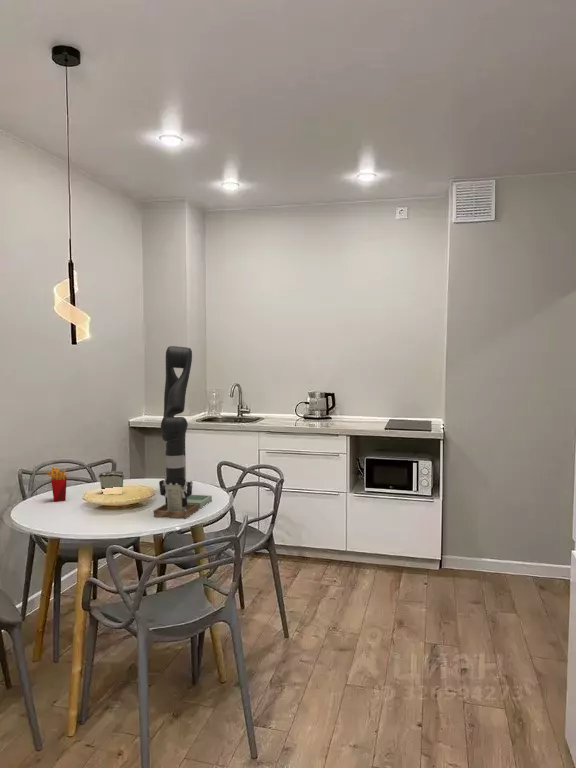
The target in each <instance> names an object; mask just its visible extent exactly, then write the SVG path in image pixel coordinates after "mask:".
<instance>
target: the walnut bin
mask: <svg viewBox="0 0 576 768" xmlns="http://www.w3.org/2000/svg"><path fill="white" fill-rule="evenodd" d="M185 507H186V512H176V511H168V506H167V505H166V504H165V503H164V504H163V505H161V506H159V507H157V508H156V509H154V510H153V517H154V518H163V517H169V518H168V519H180V518H184V520H186V518H187V519H188V518H189V517H191V516H192V515H194V514H195V513H196V511H197V512H198V511H200V509H199V504H187V505H186V506H185ZM193 513H194V514H193ZM190 515H191V516H190Z"/></svg>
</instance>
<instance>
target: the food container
mask: <svg viewBox="0 0 576 768" xmlns="http://www.w3.org/2000/svg"><path fill="white" fill-rule="evenodd" d="M98 478H99V481H100V489H105V488H113V487H123V488H124V478H126V476H125V473H124V471H121V470H120V471H119V470H111V471H110V470H109V471H108V470H107V471H103V472H99V474H98Z"/></svg>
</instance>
